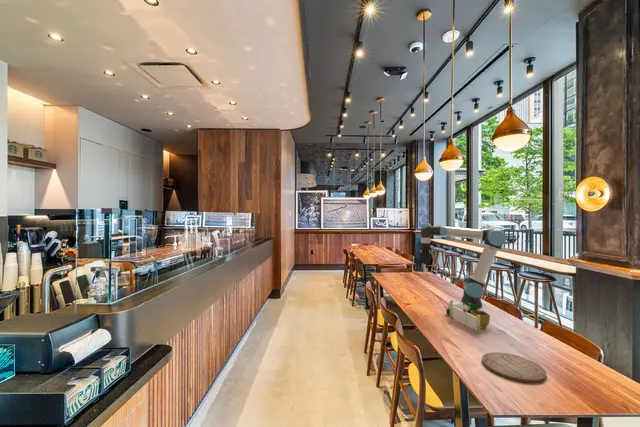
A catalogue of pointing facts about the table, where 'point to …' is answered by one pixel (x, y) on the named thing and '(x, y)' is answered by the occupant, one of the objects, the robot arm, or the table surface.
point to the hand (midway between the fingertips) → (425, 272)
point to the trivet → (514, 367)
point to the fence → (468, 319)
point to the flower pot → (482, 318)
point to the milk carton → (463, 306)
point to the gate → (459, 315)
